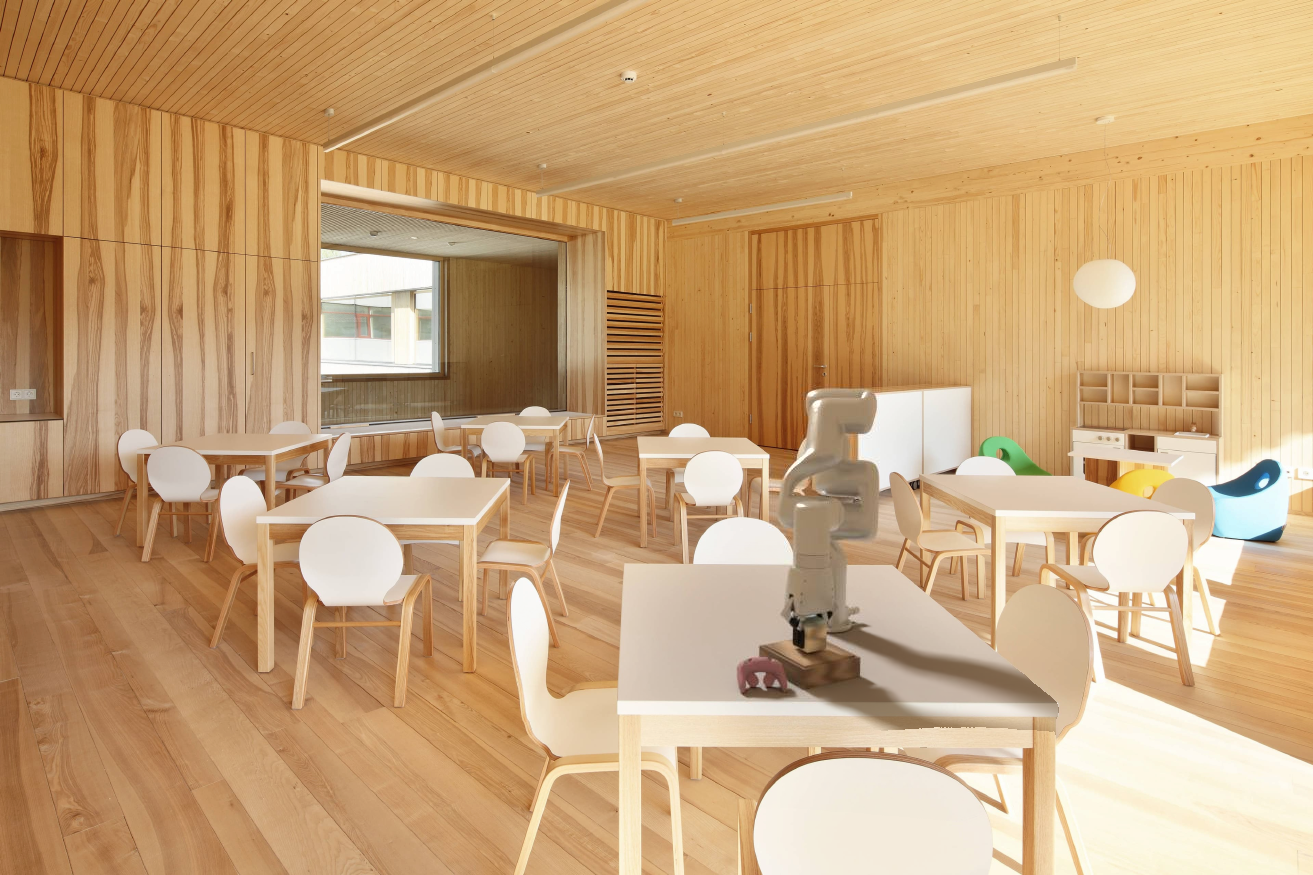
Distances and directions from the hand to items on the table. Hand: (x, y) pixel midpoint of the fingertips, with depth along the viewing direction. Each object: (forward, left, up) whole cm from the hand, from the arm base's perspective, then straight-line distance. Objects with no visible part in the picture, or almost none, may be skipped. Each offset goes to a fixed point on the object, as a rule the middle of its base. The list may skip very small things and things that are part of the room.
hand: (809, 643), depth 153 cm
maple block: (0, 0, -1) cm, 1 cm away
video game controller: (+15, +3, -6) cm, 16 cm away
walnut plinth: (0, 0, -6) cm, 6 cm away
